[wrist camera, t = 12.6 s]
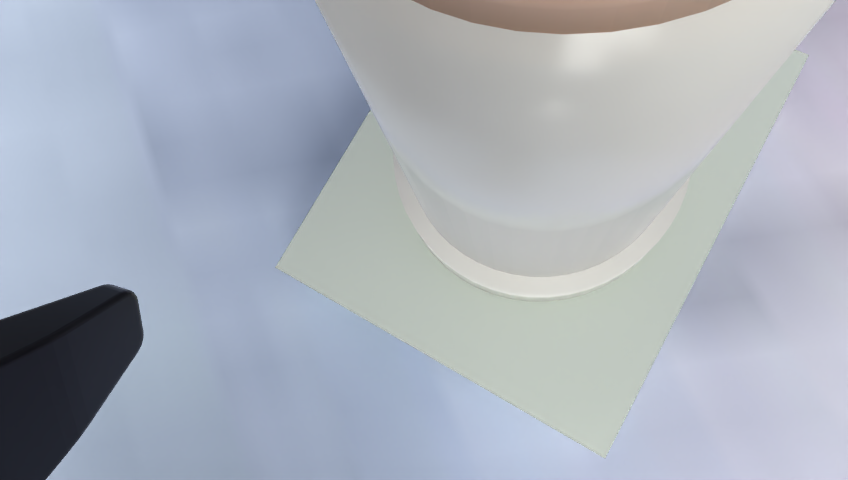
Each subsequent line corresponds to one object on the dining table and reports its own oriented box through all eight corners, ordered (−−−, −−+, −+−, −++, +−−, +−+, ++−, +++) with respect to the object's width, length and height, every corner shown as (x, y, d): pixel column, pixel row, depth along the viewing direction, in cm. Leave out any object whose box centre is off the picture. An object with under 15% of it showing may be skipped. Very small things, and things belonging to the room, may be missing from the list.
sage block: (593, 449, 18) (605, 458, 16) (303, 281, 20) (275, 267, 18) (772, 95, 20) (808, 54, 17) (485, -24, 22) (481, -75, 20)
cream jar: (694, 293, 16) (1288, -19, 4) (407, 309, 17) (122, 99, 5) (659, 31, 18) (989, -782, 6) (399, 58, 19) (173, -588, 6)
